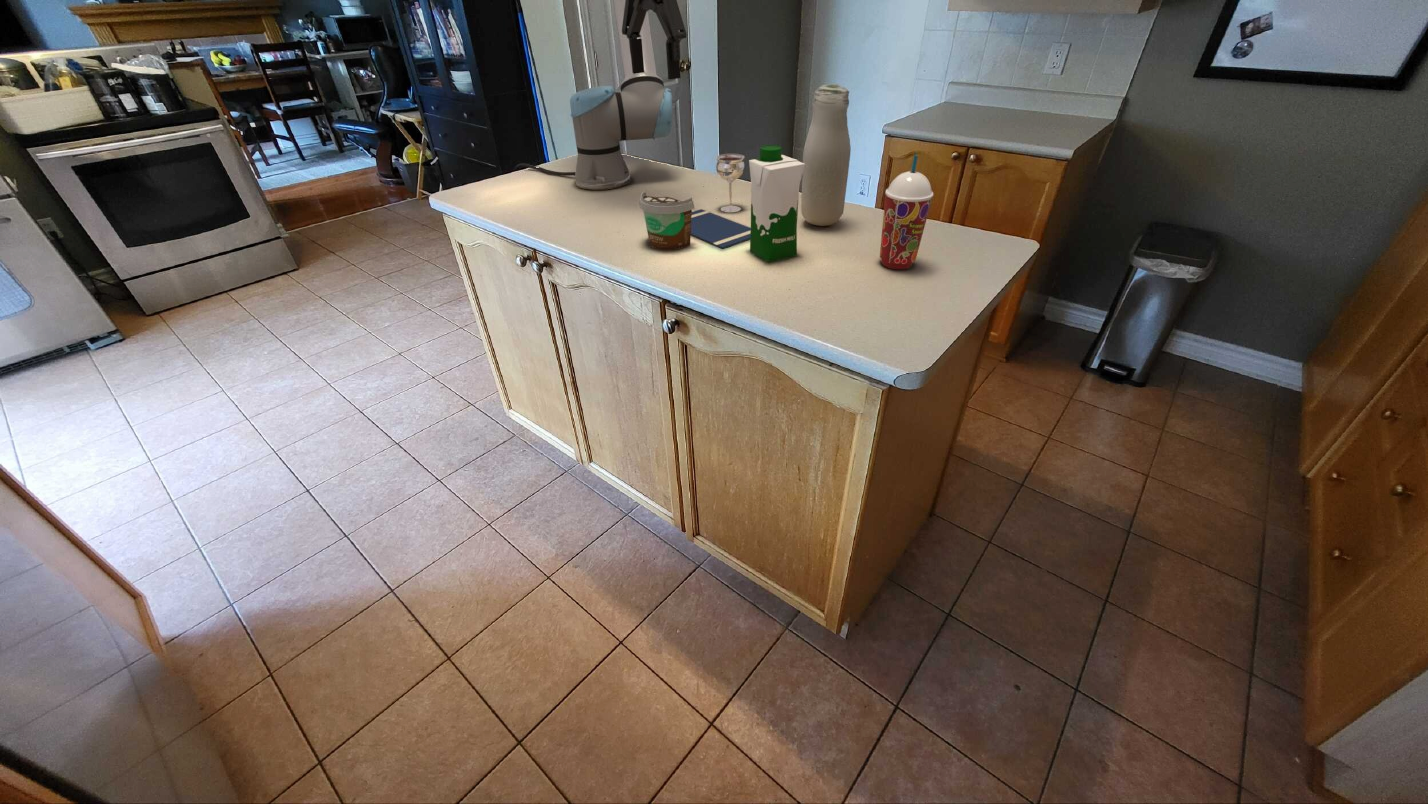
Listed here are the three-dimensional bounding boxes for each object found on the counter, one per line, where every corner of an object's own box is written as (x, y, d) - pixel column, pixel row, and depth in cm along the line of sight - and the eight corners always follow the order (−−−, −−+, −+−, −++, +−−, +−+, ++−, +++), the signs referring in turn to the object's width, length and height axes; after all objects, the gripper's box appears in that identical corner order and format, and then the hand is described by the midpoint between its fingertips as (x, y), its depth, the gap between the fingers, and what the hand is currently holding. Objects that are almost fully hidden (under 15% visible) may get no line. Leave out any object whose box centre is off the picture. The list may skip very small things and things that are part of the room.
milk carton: (779, 242, 121) (783, 142, 109) (803, 256, 115) (811, 151, 103) (743, 250, 118) (744, 148, 106) (766, 266, 112) (770, 158, 100)
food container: (632, 246, 121) (626, 199, 115) (647, 237, 126) (642, 190, 120) (682, 255, 117) (679, 207, 111) (696, 245, 121) (694, 197, 115)
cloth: (661, 222, 133) (661, 220, 133) (701, 210, 139) (701, 209, 139) (722, 249, 119) (722, 247, 119) (763, 234, 125) (764, 232, 125)
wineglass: (724, 215, 136) (723, 162, 129) (712, 207, 141) (711, 156, 134) (749, 210, 138) (749, 158, 131) (737, 203, 143) (736, 152, 136)
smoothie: (911, 276, 106) (933, 164, 94) (868, 267, 110) (884, 158, 98) (923, 260, 112) (946, 152, 100) (882, 252, 116) (899, 147, 104)
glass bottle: (841, 216, 133) (856, 80, 116) (843, 232, 125) (859, 89, 108) (799, 215, 134) (808, 81, 117) (797, 231, 126) (807, 89, 109)
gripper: (597, -46, 117) (611, 72, 130) (668, -51, 102) (676, 83, 114) (628, -46, 121) (638, 69, 134) (701, -51, 105) (705, 79, 118)
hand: (655, 76), depth 124 cm, fingers open, 13 cm apart
